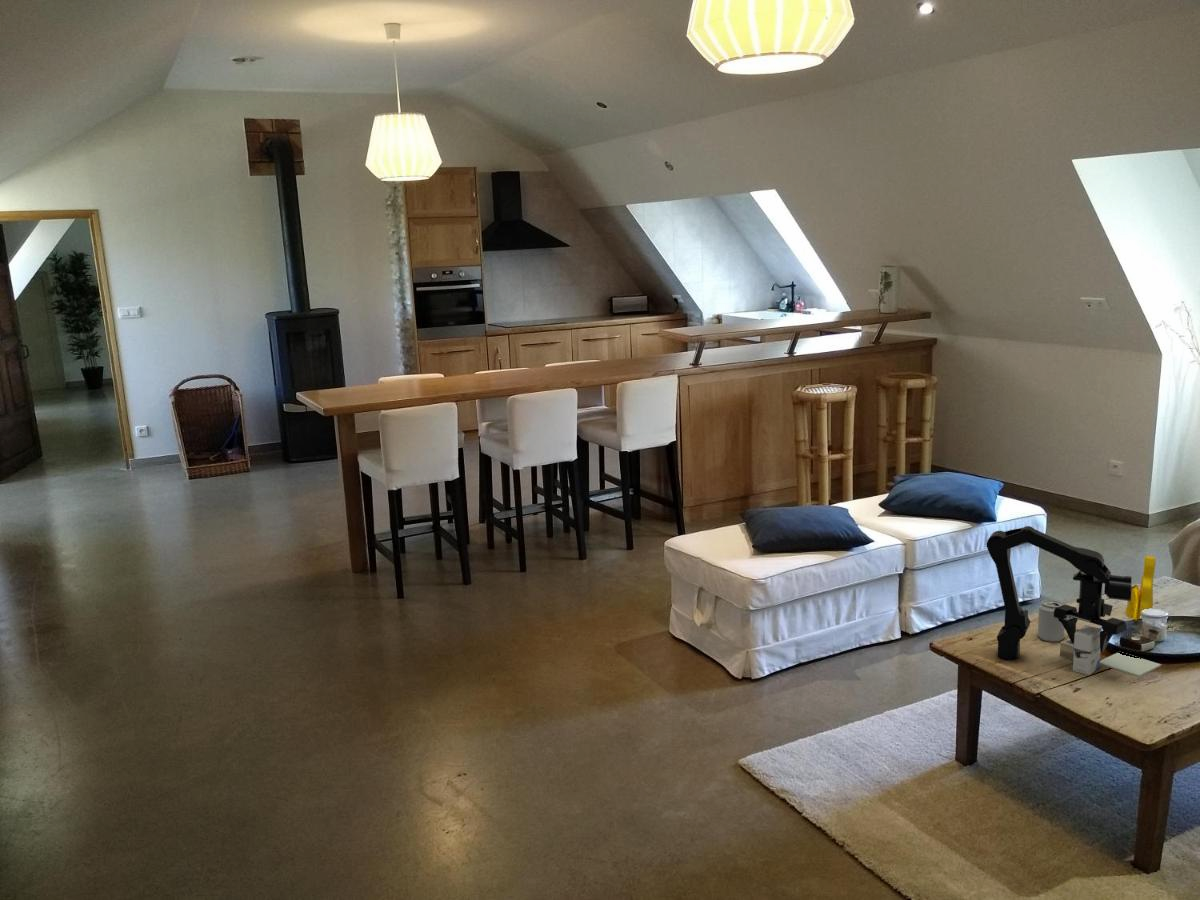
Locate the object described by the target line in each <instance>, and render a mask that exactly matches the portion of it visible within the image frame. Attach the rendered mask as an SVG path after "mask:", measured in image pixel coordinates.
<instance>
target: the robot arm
mask: <svg viewBox="0 0 1200 900" xmlns="http://www.w3.org/2000/svg"><path fill="white" fill-rule="evenodd" d="M1027 543H1028V544H1030V545H1032V546H1035V547H1037V548H1039V549H1041V550H1043V551H1045V552H1047V553H1050V554H1052V555H1054V556H1056V557H1059V558H1060V559H1061V558H1062V559H1063V560H1065V561H1067V562H1068V563H1070V564H1071V565H1072V566H1073V567H1074V568H1075V569H1077V570H1078V572H1076V573H1074V574H1073V576H1072V581H1079V593H1078V598H1076V603H1077V604H1078V609H1077V607H1075V606H1072V605H1069V604H1066V603H1065V604H1064V603H1063V605H1062V606H1059V607H1057V608H1055V609H1054V613H1053V616H1054V617H1055V618H1059V619H1058V621H1060V622H1061V623H1062V625H1063V626H1064V631H1066V633H1067V636H1068V639H1070V640H1071V642H1072V643H1074V637H1075V633H1076V632H1077V622H1078V620H1079V621H1080V620H1081V621H1083V622H1087V623H1090V624H1093V625H1097V626H1101V629H1102V631H1100V653H1104V651H1105V650H1106V648H1107V646H1108V645H1109V642H1110V640H1111V638H1112V637H1113V636H1115V635H1116V636H1117V635H1119V634H1122V633H1123V632H1126V631H1127V623H1126V621H1125V620H1123V619H1119V618H1115V617H1111V615H1112V610H1113V607H1114V606H1113V605H1111V604H1107V603H1105V599H1104V598H1103V594H1104V595H1106V597H1107V598H1108V599H1110V600H1120V601H1127V602H1128V601H1131V596H1132V587H1133V585H1132V583H1133V582H1132V580H1133V579H1132V576H1129V575H1128V576H1127V575H1125V576H1124V575H1113V574H1112V572H1111V570H1109V568H1108V567H1107V565H1106V564H1105V559H1104V556H1103V554H1101V553H1100V552H1098V551H1096V550H1092V549H1087V548H1083V547H1076V546H1074V545H1071V544H1069V543H1066V542H1064V541H1062V540H1060V539H1057V538H1055V537H1053V536H1051V535H1048V534H1047V533H1044V532H1042V531H1040V530H1037V529H1035V527H1032V526H1030V525H1026V526H1023V527H1021V528H1014V529H1008V530H1005V531H1003V530H996V531H994V532H992V533H991V534H990V536H989V538H988V539H987V540H986V549H987V551H988V553H989V556H990V558H991V560H992V561H993V563H994V564H995V567H996V571H997V577H998V581H999V586H1000V589H1001V596H1002V600H1003V604H1004V608H1005V609H1004V610H1005V611H1004V625H1003V626H1002V627H1001V628H1000V630H999V632H998V634H997V636H996V640H997V658H998V659H1001V660H1005V661H1016V660H1019V658H1020V654H1021V653H1020V651H1021V639H1023V638H1024V637H1025V635H1026V634H1027V631H1028V630H1029V627H1030V625H1031V620H1030V618H1029V610H1028V609H1024V610H1023V608H1022V606H1021V605H1020V601H1019V596H1018V592H1017V586H1016V582H1015V577H1014V572H1013V567H1012V563H1011V552H1012V548H1014V547H1018V546H1020V545H1023V544H1027ZM1103 584H1104V591H1103ZM1103 592H1104V593H1103ZM1106 616H1108V617H1110V618H1107V619H1103V618H1104V617H1106Z"/></svg>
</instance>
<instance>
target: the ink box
mask: <svg viewBox="0 0 1200 900" xmlns="http://www.w3.org/2000/svg"><path fill="white" fill-rule="evenodd" d="M1100 631H1103V629H1102V628H1099V627H1094V626H1089V625H1084V626H1082V627H1081V628H1080V629H1079V630H1076V633H1075V637H1074V657H1073V660H1072V671H1073V672H1075V673H1076V672H1077V673H1079V674H1083V675H1086V676H1091V675H1092V674H1093V673H1094V672H1095V671H1097V669H1098V668H1100V666H1101V664H1100V661H1101V651H1100Z"/></svg>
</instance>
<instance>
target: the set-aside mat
mask: <svg viewBox="0 0 1200 900" xmlns="http://www.w3.org/2000/svg"><path fill="white" fill-rule="evenodd" d="M1140 658H1141V657H1139V658H1134V657H1130V656H1126V655H1122V654H1120V653H1118V652H1116V653H1113V654H1112V655H1109V656H1107V657H1105V658H1103V659H1100V666H1104V667H1107V668H1111V669H1114V670H1117V671H1119V672H1123V673H1127V674H1129V675H1132V676H1136V677H1137V678H1140V677H1142V676H1144V675H1146V674H1148V673H1151V672H1152V671H1154V670H1156V669H1158V668H1161V667H1162V664H1161V663H1158V662H1155V661H1151V660H1148V659H1145V658H1141V659H1140Z"/></svg>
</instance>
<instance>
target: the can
mask: <svg viewBox="0 0 1200 900" xmlns="http://www.w3.org/2000/svg"><path fill="white" fill-rule="evenodd" d="M1062 605H1064V603H1063V602H1062V601H1059V600H1055V599H1044V600H1041V603H1040V604H1039V606H1038V624H1037V636H1038V637H1039V638H1040V639H1041V640H1043V641H1045V642H1049V643H1057V642H1062V641H1063V639H1064V638H1065V628H1064V626H1063V625H1062V623H1061V622H1060V621H1058V619H1059V618H1055V617H1054V616H1053V613H1054V609H1055V608H1057V607H1059V606H1062Z"/></svg>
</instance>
